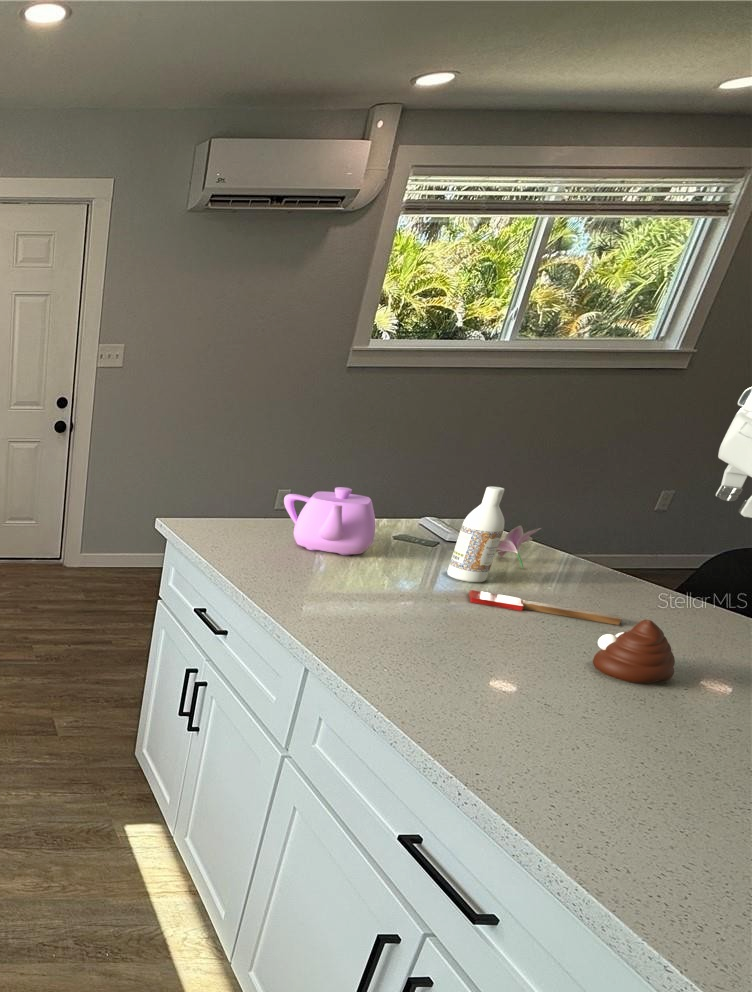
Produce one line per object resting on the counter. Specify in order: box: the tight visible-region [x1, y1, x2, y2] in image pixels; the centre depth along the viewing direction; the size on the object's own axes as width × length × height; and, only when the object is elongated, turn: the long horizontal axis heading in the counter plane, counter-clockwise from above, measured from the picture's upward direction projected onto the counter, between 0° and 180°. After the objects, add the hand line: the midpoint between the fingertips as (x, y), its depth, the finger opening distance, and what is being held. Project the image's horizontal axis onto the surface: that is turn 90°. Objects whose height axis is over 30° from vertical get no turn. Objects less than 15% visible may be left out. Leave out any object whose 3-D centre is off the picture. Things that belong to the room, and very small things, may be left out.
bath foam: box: [446, 486, 505, 583], centre depth 135 cm, size 7×7×20 cm
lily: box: [496, 525, 542, 569], centre depth 146 cm, size 12×12×10 cm
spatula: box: [468, 589, 622, 626], centre depth 123 cm, size 22×5×1 cm, turn 56°
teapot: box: [283, 486, 376, 556], centre depth 155 cm, size 23×21×15 cm
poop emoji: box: [592, 619, 676, 684], centre depth 99 cm, size 10×8×9 cm
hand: (735, 507), depth 85 cm, fingers open, 8 cm apart
